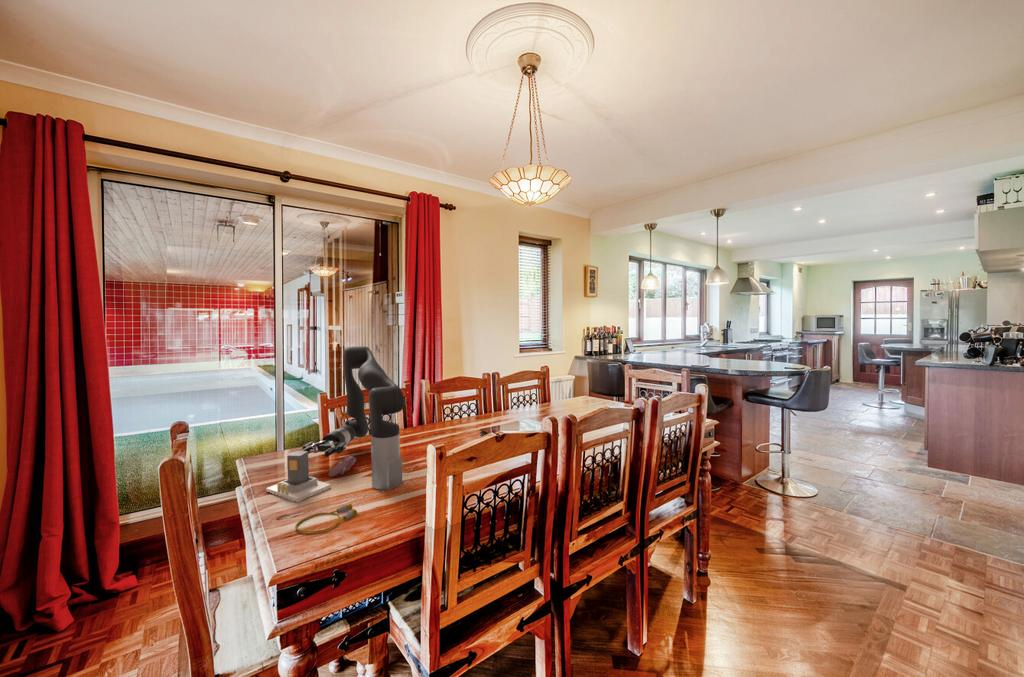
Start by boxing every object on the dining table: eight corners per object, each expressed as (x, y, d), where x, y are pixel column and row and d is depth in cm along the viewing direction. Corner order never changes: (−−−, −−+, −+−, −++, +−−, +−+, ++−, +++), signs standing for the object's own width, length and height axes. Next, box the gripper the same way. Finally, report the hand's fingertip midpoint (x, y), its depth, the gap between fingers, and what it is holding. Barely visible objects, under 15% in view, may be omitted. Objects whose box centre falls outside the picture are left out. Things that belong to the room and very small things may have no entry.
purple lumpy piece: (337, 482, 144) (344, 465, 143) (326, 475, 145) (334, 459, 144) (353, 472, 154) (360, 456, 153) (343, 465, 155) (350, 450, 154)
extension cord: (359, 527, 112) (359, 519, 111) (294, 540, 105) (293, 532, 105) (355, 507, 123) (355, 501, 122) (296, 519, 116) (296, 512, 116)
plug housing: (309, 483, 136) (308, 451, 136) (300, 490, 131) (299, 456, 131) (296, 483, 137) (295, 451, 136) (287, 489, 132) (286, 456, 131)
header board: (330, 487, 136) (330, 477, 136) (296, 502, 125) (296, 490, 125) (300, 478, 143) (300, 468, 143) (266, 491, 133) (265, 480, 133)
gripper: (318, 430, 160) (294, 443, 144) (354, 430, 159) (333, 444, 143) (319, 449, 160) (294, 464, 144) (354, 449, 159) (333, 465, 143)
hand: (314, 454), depth 143 cm, fingers open, 8 cm apart
